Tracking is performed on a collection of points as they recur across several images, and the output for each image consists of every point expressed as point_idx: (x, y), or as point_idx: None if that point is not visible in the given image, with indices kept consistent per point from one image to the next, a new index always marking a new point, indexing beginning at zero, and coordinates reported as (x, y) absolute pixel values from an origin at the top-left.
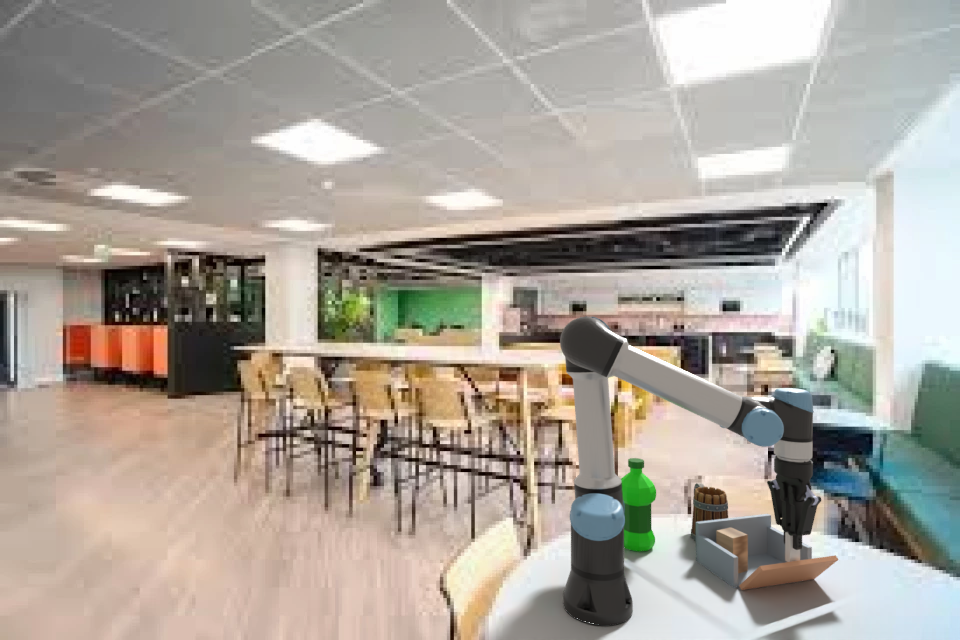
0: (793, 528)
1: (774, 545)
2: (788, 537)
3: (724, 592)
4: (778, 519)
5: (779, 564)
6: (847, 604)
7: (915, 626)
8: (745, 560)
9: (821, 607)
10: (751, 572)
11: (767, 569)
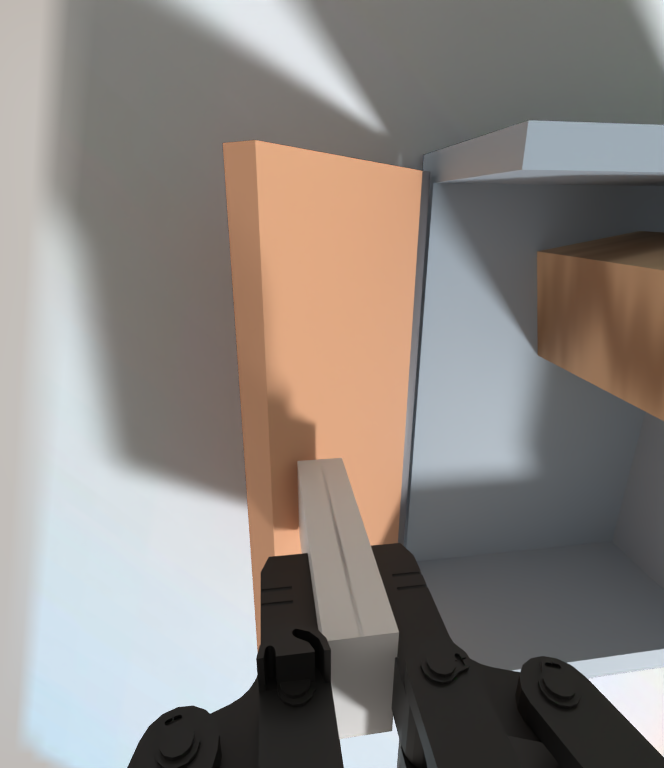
0: (292, 751)
1: (611, 584)
2: (341, 600)
3: (452, 115)
4: (573, 736)
5: (256, 348)
6: (225, 570)
7: (55, 670)
8: (573, 357)
9: (225, 467)
10: (519, 362)
11: (229, 203)
